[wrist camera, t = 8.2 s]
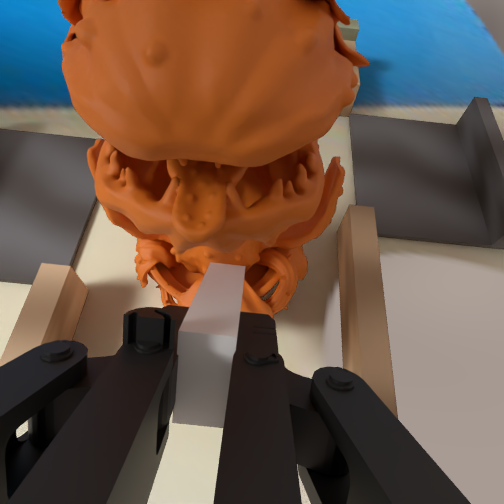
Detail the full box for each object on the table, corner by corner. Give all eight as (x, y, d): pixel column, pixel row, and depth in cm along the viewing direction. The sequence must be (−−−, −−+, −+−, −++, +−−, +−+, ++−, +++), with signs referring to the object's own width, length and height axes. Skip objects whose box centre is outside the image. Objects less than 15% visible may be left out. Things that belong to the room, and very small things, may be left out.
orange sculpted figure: (107, 356, 20) (-289, -36, 5) (145, 198, 26) (24, -219, 10) (312, 367, 20) (586, 41, 5) (305, 209, 26) (424, -176, 11)
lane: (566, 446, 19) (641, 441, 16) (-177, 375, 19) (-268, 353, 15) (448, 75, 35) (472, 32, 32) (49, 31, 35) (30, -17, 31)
